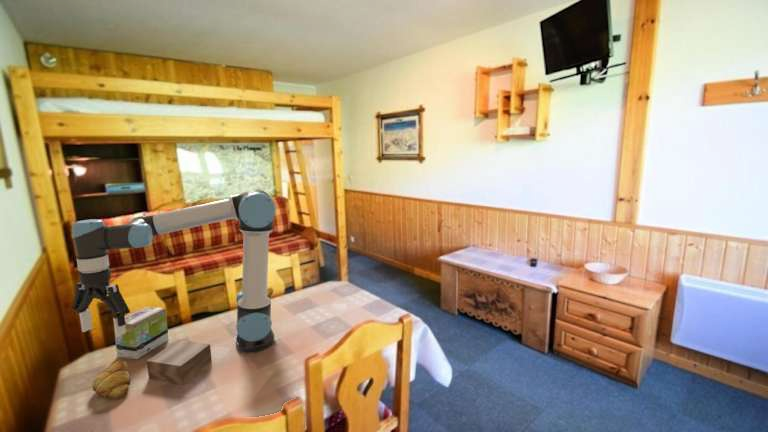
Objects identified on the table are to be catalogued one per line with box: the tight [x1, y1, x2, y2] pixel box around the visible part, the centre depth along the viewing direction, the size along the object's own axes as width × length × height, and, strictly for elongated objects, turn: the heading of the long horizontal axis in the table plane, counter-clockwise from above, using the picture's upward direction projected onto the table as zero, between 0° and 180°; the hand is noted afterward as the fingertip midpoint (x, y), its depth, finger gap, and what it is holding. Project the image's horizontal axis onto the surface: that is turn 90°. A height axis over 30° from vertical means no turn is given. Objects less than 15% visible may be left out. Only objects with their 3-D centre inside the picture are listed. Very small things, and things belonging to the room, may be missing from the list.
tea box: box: [113, 305, 169, 360], centre depth 138 cm, size 15×10×15 cm
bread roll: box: [92, 360, 131, 400], centre depth 113 cm, size 13×10×8 cm
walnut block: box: [146, 339, 212, 386], centre depth 125 cm, size 14×14×7 cm
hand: (104, 332), depth 111 cm, fingers open, 13 cm apart
